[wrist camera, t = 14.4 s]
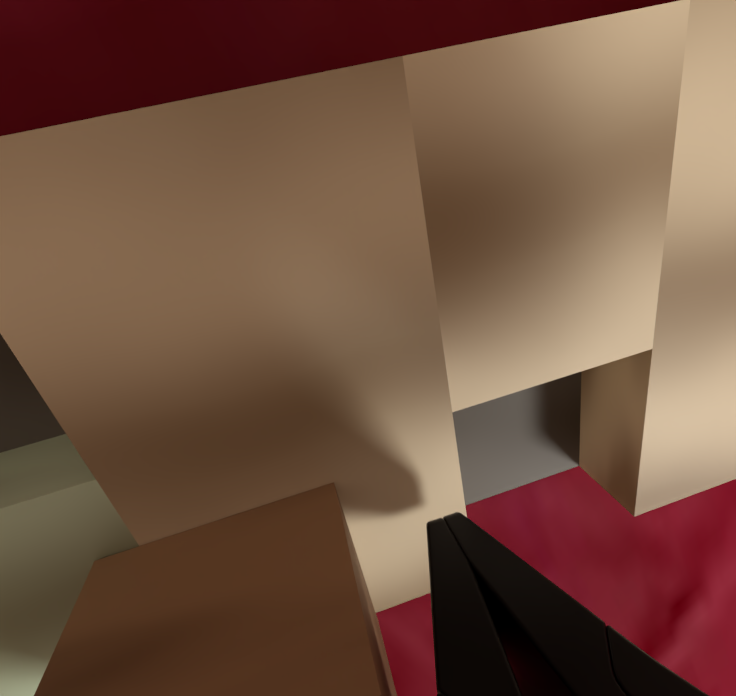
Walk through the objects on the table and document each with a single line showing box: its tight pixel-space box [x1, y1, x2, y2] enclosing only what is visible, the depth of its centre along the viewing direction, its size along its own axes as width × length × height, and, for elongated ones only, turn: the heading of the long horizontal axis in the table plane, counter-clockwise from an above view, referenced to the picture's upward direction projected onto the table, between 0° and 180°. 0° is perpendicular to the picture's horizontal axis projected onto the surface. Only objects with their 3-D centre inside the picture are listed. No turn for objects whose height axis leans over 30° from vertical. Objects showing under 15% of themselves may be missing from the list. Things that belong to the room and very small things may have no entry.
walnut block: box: [34, 482, 397, 696], centre depth 8 cm, size 5×5×4 cm
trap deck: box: [0, 0, 736, 696], centre depth 8 cm, size 12×25×6 cm, turn 101°
